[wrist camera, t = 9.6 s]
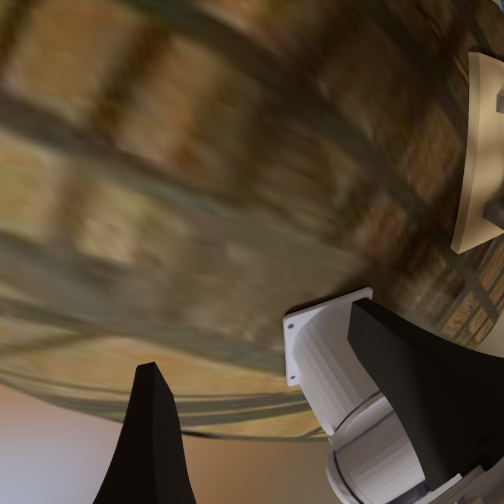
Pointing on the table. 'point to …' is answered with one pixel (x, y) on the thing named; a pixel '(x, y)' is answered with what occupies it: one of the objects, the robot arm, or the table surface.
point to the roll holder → (482, 157)
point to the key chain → (500, 4)
